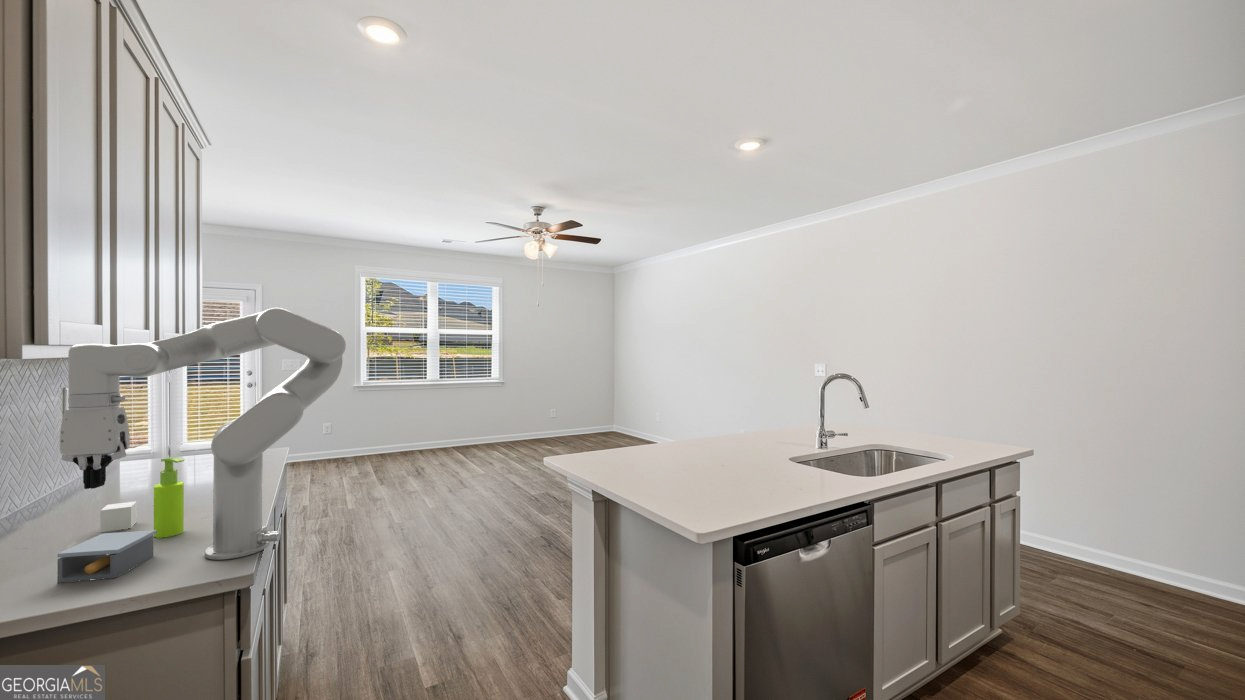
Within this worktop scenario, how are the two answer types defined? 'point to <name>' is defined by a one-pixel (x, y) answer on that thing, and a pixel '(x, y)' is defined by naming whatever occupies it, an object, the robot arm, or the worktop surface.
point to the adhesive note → (118, 516)
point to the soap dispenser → (169, 502)
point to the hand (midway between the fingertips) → (94, 486)
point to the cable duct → (103, 563)
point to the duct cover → (107, 543)
